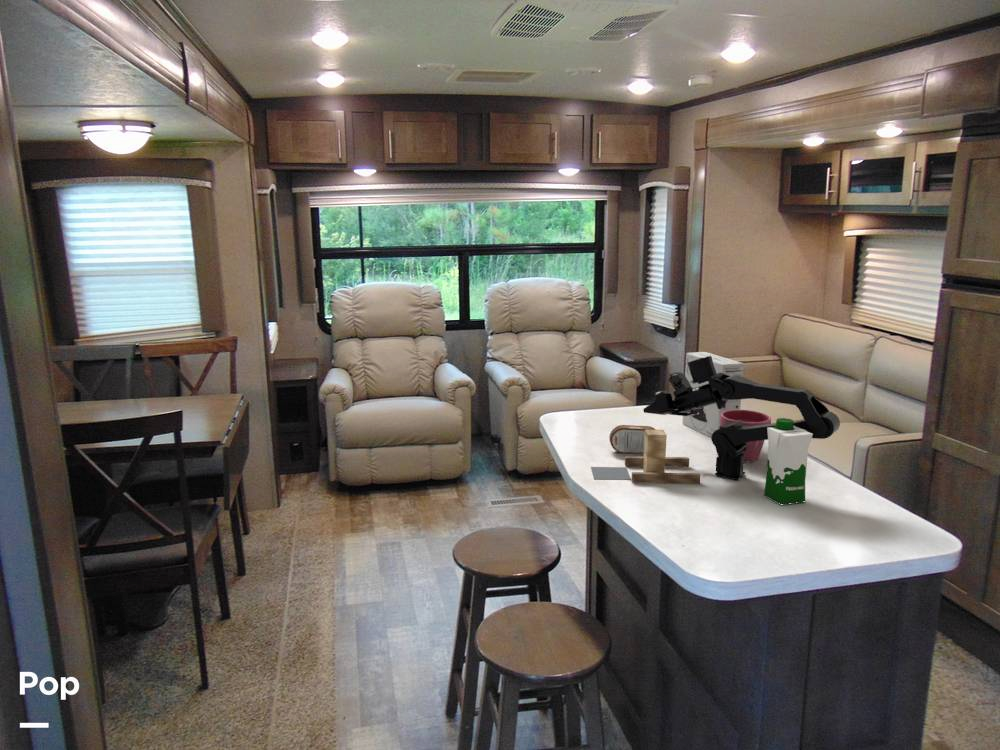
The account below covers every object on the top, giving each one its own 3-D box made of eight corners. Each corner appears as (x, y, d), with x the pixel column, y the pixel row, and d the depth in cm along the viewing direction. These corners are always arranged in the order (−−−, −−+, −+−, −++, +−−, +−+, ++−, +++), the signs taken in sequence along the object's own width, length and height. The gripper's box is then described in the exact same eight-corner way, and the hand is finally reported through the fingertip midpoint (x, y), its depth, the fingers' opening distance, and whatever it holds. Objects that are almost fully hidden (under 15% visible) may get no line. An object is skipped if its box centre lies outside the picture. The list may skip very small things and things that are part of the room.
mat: (626, 467, 209) (626, 467, 209) (631, 479, 199) (631, 479, 199) (590, 467, 209) (590, 466, 209) (594, 479, 199) (594, 478, 199)
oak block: (661, 471, 206) (663, 429, 204) (664, 477, 201) (666, 434, 199) (643, 470, 206) (645, 429, 204) (646, 476, 201) (648, 434, 199)
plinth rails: (687, 465, 211) (688, 457, 210) (700, 483, 196) (700, 475, 196) (624, 464, 211) (625, 456, 211) (632, 482, 197) (632, 473, 196)
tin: (659, 452, 223) (660, 425, 221) (660, 455, 220) (661, 428, 218) (608, 450, 225) (609, 423, 223) (609, 453, 222) (610, 426, 220)
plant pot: (760, 468, 209) (763, 424, 207) (711, 459, 217) (714, 417, 214) (773, 455, 221) (776, 413, 218) (726, 447, 228) (729, 407, 226)
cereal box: (681, 423, 254) (686, 352, 249) (701, 422, 257) (705, 351, 252) (717, 441, 234) (723, 364, 229) (738, 439, 236) (744, 363, 231)
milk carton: (787, 490, 191) (793, 416, 187) (811, 503, 183) (818, 426, 178) (758, 494, 189) (763, 419, 185) (780, 507, 180) (787, 428, 176)
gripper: (708, 371, 214) (662, 386, 224) (676, 366, 200) (628, 382, 210) (717, 408, 211) (670, 422, 221) (686, 406, 197) (637, 420, 207)
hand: (652, 411), depth 215 cm, fingers open, 9 cm apart
